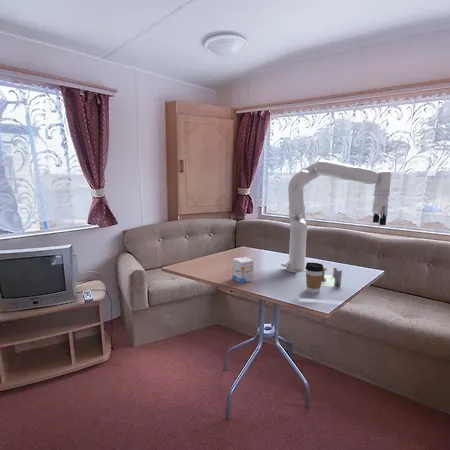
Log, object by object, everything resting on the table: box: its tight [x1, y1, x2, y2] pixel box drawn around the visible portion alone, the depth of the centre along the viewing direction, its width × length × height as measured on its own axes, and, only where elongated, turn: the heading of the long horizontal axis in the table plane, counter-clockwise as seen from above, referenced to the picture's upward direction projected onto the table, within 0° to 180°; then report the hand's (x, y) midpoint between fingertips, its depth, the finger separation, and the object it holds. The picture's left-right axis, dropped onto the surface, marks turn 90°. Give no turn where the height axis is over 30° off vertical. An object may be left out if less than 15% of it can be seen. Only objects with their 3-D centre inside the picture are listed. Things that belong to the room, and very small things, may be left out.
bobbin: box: [321, 266, 328, 282], centre depth 166 cm, size 6×6×6 cm
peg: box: [334, 269, 343, 288], centre depth 158 cm, size 3×3×8 cm
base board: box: [321, 274, 343, 288], centre depth 166 cm, size 12×19×2 cm, turn 170°
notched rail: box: [324, 266, 338, 277], centre depth 173 cm, size 11×2×5 cm, turn 80°
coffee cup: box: [305, 261, 324, 294], centre depth 150 cm, size 8×8×15 cm
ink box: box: [232, 256, 254, 284], centre depth 169 cm, size 9×8×12 cm
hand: (379, 223), depth 175 cm, fingers open, 9 cm apart
